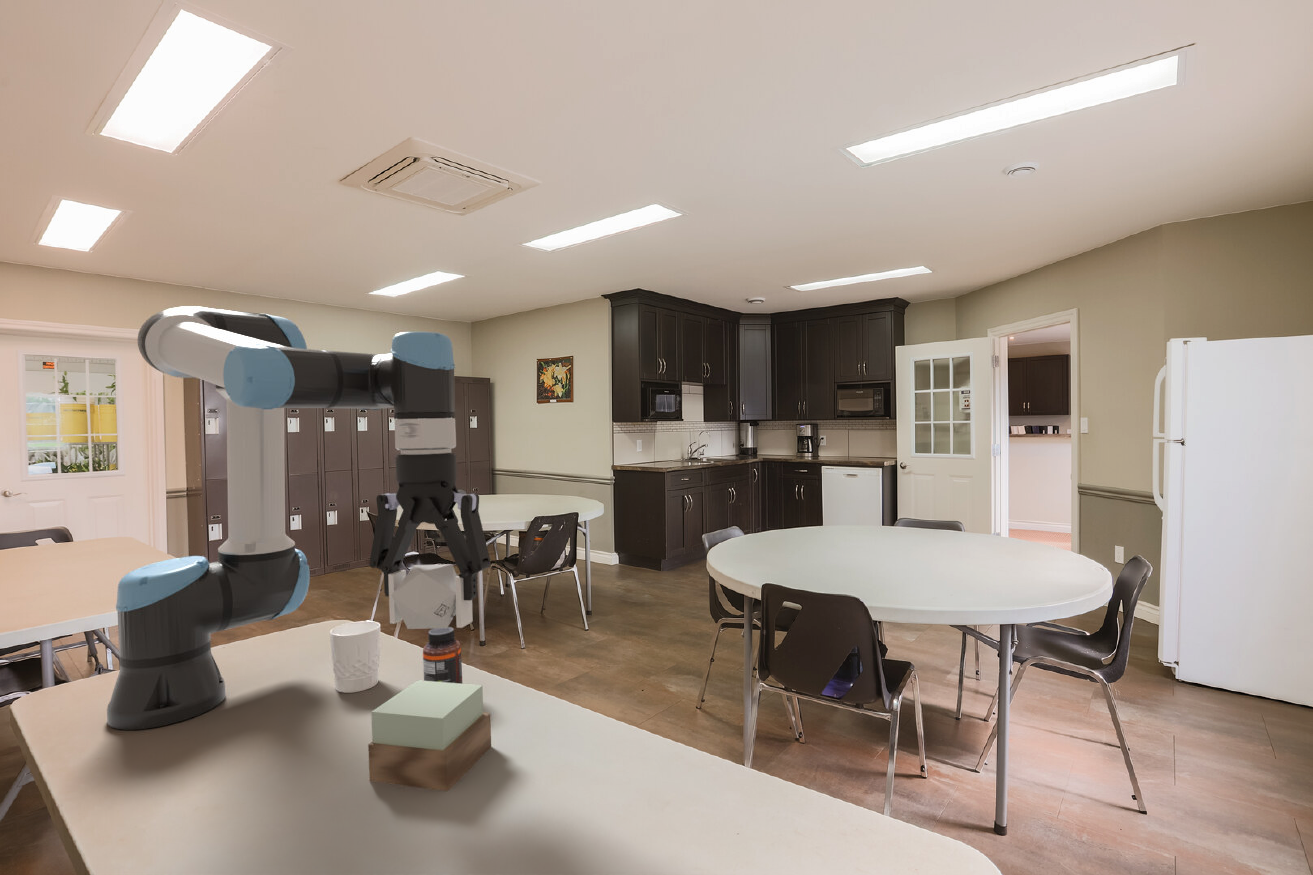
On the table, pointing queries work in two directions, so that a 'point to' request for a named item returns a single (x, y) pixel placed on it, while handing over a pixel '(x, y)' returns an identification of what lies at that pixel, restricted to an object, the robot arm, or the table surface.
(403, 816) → the table surface
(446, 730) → the sage block
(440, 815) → the table surface
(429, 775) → the walnut slab
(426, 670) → the supplement bottle
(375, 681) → the white cup
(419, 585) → the die
